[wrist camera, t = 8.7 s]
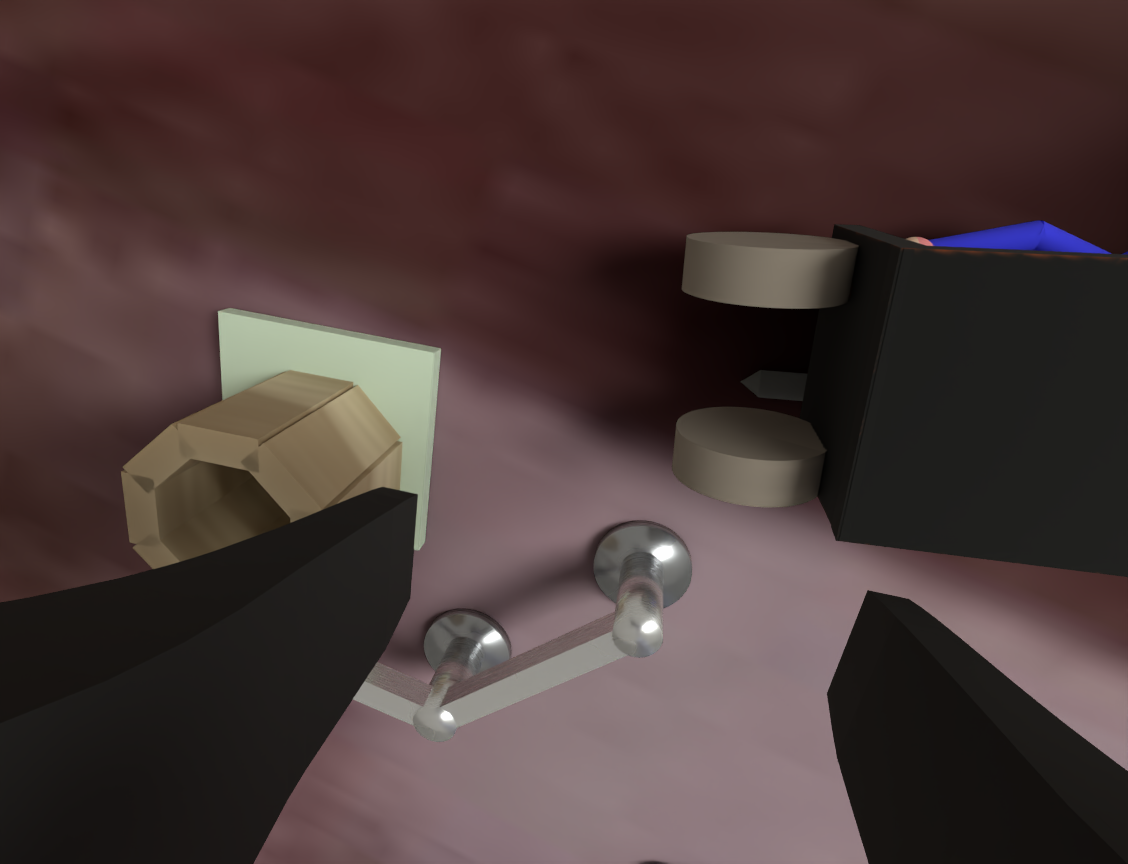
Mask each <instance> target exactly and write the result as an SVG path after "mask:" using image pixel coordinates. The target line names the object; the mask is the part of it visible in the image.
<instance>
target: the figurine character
mask: <svg viewBox="0 0 1128 864" xmlns="http://www.w3.org/2000/svg"><path fill="white" fill-rule="evenodd" d="M682 290H683V291H684V292H685V293H687V294H689V295H692V296H695V297H698V298H702V299H706V300H711V301H716V302H722V303H728V304H735V305H744V306H753V307H766V308H786V309H812V308H819V313H818V318H817V324H816V330H815V335H814V341H813V346H812V352H811V357H810V363H809V369H808V374H805V373H792V372H779V371H766V370H760V371H758V372H756V373H754V374H753V375H751V376H749V377H748V378H746V379H744V380H742V381H741V383H742V384H744V385H745V386H746V387H747V388H748V389H750V390H751V391H752V392H753V393H754V394H755V395H757V396H758V397H761V398H772V399H784V400H796V401H803V402H802V408H801V413H800V418H797V417H794V416H790V415H787V414H783V413H779V412H774V411H769V410H763V409H756V408H747V407H711V408H703V409H698V410H694V411H691V412H688V413H686V414H684V415H683V416H681V417H680V418H679V419H678V420H677V423H676V432H675V442H674V452H673V462H672V470H673V473H674V475H675V476H676V478H677V479H678V480H679V481H680V482H681V483H683V484H684V485H685V486H687V487H689V488H690V489H692V490H694V491H696V492H698V493H700V494H703V495H705V496H708V497H711V498H714V499H717V500H720V501H724V502H728V503H733V504H738V505H744V506H753V507H787V506H794V505H799V504H803V503H806V502H808V501H811V500H813V499H814V498H816V497H817V496H818V498H819V500H820V502H821V504H822V506H823V508H824V510H825V513H826V515H827V517H828V519H829V521H830V523H831V527H832V530H833V533H834V536H835V539H836V541H844V542H852V543H860V544H868V545H876V546H884V547H892V548H900V549H908V550H916V551H924V552H932V553H940V554H948V555H956V556H964V557H972V558H980V559H988V560H996V561H1004V562H1012V563H1020V564H1028V565H1036V566H1044V567H1052V568H1060V569H1068V570H1076V571H1084V572H1092V573H1100V574H1109V575H1117V576H1125V577H1128V252H1125V253H1123V254H1111V253H1109V252H1107V251H1105V250H1103V249H1101V248H1099V247H1097V246H1095V245H1093V244H1090V243H1088V242H1086V241H1084V240H1082V239H1080V238H1078V237H1076V236H1074V235H1072V234H1069V233H1067V232H1065V231H1063V230H1061V229H1059V228H1057V227H1055V226H1053V225H1051V224H1048V223H1046V222H1044V221H1040V220H1037V221H1032V222H1026V223H1020V224H1015V225H1009V226H1004V227H998V228H993V229H987V230H982V231H976V232H971V233H965V234H960V235H954V236H948V237H943V238H937V239H932V240H927V239H925V238H922V237H910V238H907V239H903V238H900V237H897V236H893V235H890V234H887V233H884V232H880V231H877V230H874V229H870V228H867V227H864V226H860V225H836V224H834V229H833V235H832V238H827V237H818V236H808V235H796V234H781V233H762V232H704V233H694V234H689V235H687V238H686V249H685V259H684V270H683V281H682Z"/></svg>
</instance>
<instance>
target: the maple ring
mask: <svg viewBox="0 0 1128 864" xmlns="http://www.w3.org/2000/svg"><path fill="white" fill-rule="evenodd" d="M400 438H401V437H400V436H399V434H398V433H397V432H396V431H395V429H394V428H393V427H392V426H391V425H390V423H389V422H388V421H387V420H386V418H385V417H384V416H383V415H382V414H381V412H380V411H379V410H378V409H377V408H376V406H375V405H374V404H373V403H372V401H371V400H370V399H369V398H368V397H367V395H366V394H365V393H364V392H363V390H362V389H361V388H360V387H359V386H358V385H357V386H355V387H354V388H353V382H351V381H345V380H340V379H335V378H330V377H325V376H319V375H314V374H309V373H304V372H298V371H293V370H289V371H287V372H286V371H285V372H282V373H280V374H278V375H276V376H274V377H272V378H270V379H267V380H265V381H263V382H261V383H259V384H257V385H254V386H252V387H250V388H248V389H246V390H244V391H242V392H239V393H237V394H235V395H233V396H231V397H229V398H227V399H224V400H222V401H220V402H218V403H216V404H214V405H211V406H209V407H207V408H205V409H203V410H201V411H199V412H196V413H194V414H192V415H190V416H188V417H186V418H184V419H181V420H179V421H177V422H175V423H173V424H171V425H170V426H169V427H168V428H167V429H165V430H164V431H163V432H162V433H161V434H160V435H159V436H157V437H156V438H155V439H154V440H153V441H152V442H151V443H149V444H148V445H147V446H146V447H145V448H144V449H143V450H141V451H140V452H139V453H138V454H137V455H136V456H135V457H133V458H132V459H131V460H130V461H129V462H128V463H127V464H125V465H124V466H123V468H124V469H125V470H124V471H122V472H121V477H122V485H123V493H124V501H125V509H126V517H127V525H128V533H129V541H130V543H135V544H136V545H135V546H134V547H133V549H134V550H135V551H136V552H137V553H138V554H139V555H140V556H141V557H142V558H143V559H144V560H145V561H146V562H147V563H148V564H149V565H150V566H151V567H152V568H153V569H156V568H160V567H163V566H167V565H171V564H174V563H178V562H181V561H184V560H187V559H191V558H194V557H197V556H200V555H203V554H207V553H210V552H213V551H216V550H218V549H221V548H224V547H227V546H229V545H232V544H235V543H238V542H240V541H243V540H246V539H249V538H251V537H254V536H257V535H260V534H262V533H265V532H268V531H271V530H274V529H276V528H279V527H281V526H284V525H286V524H289V523H291V522H294V521H296V520H299V519H301V518H304V517H306V516H308V515H311V514H313V513H316V512H318V511H321V510H323V509H326V508H328V507H330V506H333V505H335V504H338V503H340V502H342V501H345V500H347V499H350V498H352V497H355V496H357V495H360V494H362V493H365V492H368V491H370V490H373V489H377V488H380V487H387V488H391V489H396V490H400V481H401V463H402V444H403V442H400V441H398V440H399V439H400Z"/></svg>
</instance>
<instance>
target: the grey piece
mask: <svg viewBox="0 0 1128 864" xmlns="http://www.w3.org/2000/svg"><path fill="white" fill-rule="evenodd" d="M594 575H595V578H596V581H597V583H598V585H599V587H600V589H601V590H602V591H603V593H604V594H605V595H606V596H607V597H608V598H609V599H611V600H612V601H613V602H615V603H616V608H615V612H613V613H611V614H608V615H606V616H604V617H602V618H600V619H597V620H595V621H593V622H591V623H588V624H586V625H584V626H582V627H580V628H577V629H575V630H573V631H571V632H569V633H566V634H564V635H562V636H560V637H558V638H555V639H553V640H551V641H549V642H547V643H544V644H542V645H540V646H538V647H535V648H533V649H531V650H529V651H527V652H524V653H522V654H520V655H518V656H516V657H513V658H511V651H512V650H511V643H510V640H509V638H508V635H507V634H506V632H505V631H504V629H503V628H502V627H501V626H500V625H499V624H498V623H497V622H496V621H495V620H494V619H492V618H491V617H489V616H487V615H485V614H483V613H481V612H478V611H474V610H469V609H456V610H451V611H448V612H445V613H443V614H441V615H440V616H438V617H437V618H436V619H435V620H434V622H433V623H432V625H431V626H430V628H429V630H428V632H427V634H426V636H425V640H424V651H425V655H426V658H427V660H428V662H429V664H430V665H431V667H432V668H433V669H434V670H435V674H434V676H433V678H432V680H431V682H430V684H427V683H424V682H422V681H420V680H417V679H415V678H413V677H410V676H408V675H406V674H404V673H401V672H399V671H397V670H394V669H392V668H390V667H387V666H385V665H383V664H380V663H378V662H377V663H376V664H375V666H374V668H373V669H372V671H371V672H370V674H369V675H368V677H367V678H366V680H365V681H364V683H363V684H362V686H361V687H360V689H359V690H358V692H357V693H356V695H355V696H354V698H353V700H356V701H358V702H360V703H363V704H365V705H367V706H370V707H372V708H374V709H377V710H379V711H381V712H383V713H386V714H388V715H390V716H393V717H395V718H397V719H400V720H402V721H404V722H406V723H409V724H411V725H413V726H414V727H415V729H416V731H417V732H418V733H419V734H420V735H421V736H423V737H424V738H426V739H428V740H431V741H435V742H444V741H447V740H449V739H451V738H452V737H453V735H454V734H455V731H456V729H457V728H458V727H460V726H462V725H465V724H467V723H469V722H472V721H474V720H476V719H479V718H481V717H483V716H486V715H488V714H491V713H493V712H495V711H498V710H500V709H502V708H505V707H507V706H509V705H512V704H514V703H516V702H519V701H521V700H524V699H526V698H528V697H531V696H533V695H535V694H538V693H540V692H542V691H545V690H547V689H549V688H552V687H554V686H556V685H559V684H561V683H564V682H566V681H568V680H571V679H573V678H575V677H578V676H580V675H582V674H585V673H587V672H589V671H592V670H594V669H597V668H599V667H601V666H604V665H606V664H608V663H611V662H613V661H615V660H618V659H620V658H622V657H625V656H627V655H629V656H632V657H639V658H640V657H647V656H650V655H652V654H654V653H655V652H657V651H658V650H659V648H660V647H661V644H662V641H663V608H665V607H668V606H670V605H672V604H673V603H675V602H676V601H677V600H679V599H680V598H681V597H682V596H683V594H684V593H685V592H686V590H687V588H688V587H689V584H690V581H691V576H692V563H691V556H690V553H689V550H688V548H687V546H686V545H685V543H684V541H683V540H682V539H681V538H680V537H679V536H678V535H677V534H676V533H675V532H673V531H672V530H671V529H669V528H667V527H665V526H663V525H660V524H658V523H654V522H649V521H632V522H627V523H624V524H621V525H619V526H617V527H615V528H613V529H612V530H610V531H609V532H608V533H607V534H606V535H605V536H604V537H603V538H602V540H601V541H600V543H599V545H598V547H597V550H596V554H595V558H594ZM510 658H511V659H510Z"/></svg>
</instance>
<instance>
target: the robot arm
mask: <svg viewBox="0 0 1128 864" xmlns="http://www.w3.org/2000/svg"><path fill="white" fill-rule="evenodd" d="M417 500H418V494H415V493H410V492H405V491H401V490H396V489H391V488H387V487H380V488H377V489H373V490H370V491H368V492H365V493H362V494H360V495H357V496H355V497H352V498H350V499H347V500H345V501H342V502H340V503H338V504H335V505H333V506H330V507H328V508H326V509H323V510H321V511H318V512H316V513H313V514H311V515H308V516H306V517H304V518H301V519H299V520H296V521H294V522H291V523H289V524H286V525H284V526H281V527H279V528H276V529H274V530H271V531H268V532H265V533H262V534H260V535H257V536H254V537H251V538H249V539H246V540H243V541H240V542H238V543H235V544H232V545H229V546H227V547H224V548H221V549H218V550H216V551H213V552H210V553H207V554H203V555H200V556H197V557H194V558H191V559H187V560H184V561H181V562H178V563H174V564H171V565H167V566H163V567H160V568H156V569H152V570H149V571H145V572H141V573H138V574H134V575H130V576H126V577H122V578H118V579H114V580H109V581H105V582H100V583H95V584H91V585H86V586H81V587H77V588H72V589H67V590H63V591H58V592H53V593H49V594H44V595H39V596H34V597H30V598H24V599H19V600H13V601H7V602H1V603H0V864H253V863H254V861H255V860H256V858H257V856H258V854H259V852H260V850H261V848H262V846H263V845H264V843H265V841H266V839H267V837H268V835H269V833H270V832H271V830H272V828H273V826H274V824H275V822H276V820H277V818H278V817H279V815H280V813H281V811H282V809H283V807H284V805H285V804H286V802H287V800H288V798H289V796H290V795H291V793H292V792H293V790H294V788H295V787H296V785H297V783H298V782H299V780H300V778H301V777H302V775H303V773H304V772H305V770H306V769H307V767H308V766H309V764H310V763H311V761H312V760H313V758H314V757H315V755H316V754H317V752H318V751H319V749H320V748H321V746H322V745H323V743H324V742H325V740H326V738H327V737H328V735H329V734H330V732H331V731H332V729H333V728H334V726H335V725H336V723H337V722H338V720H339V719H340V717H341V716H342V714H343V713H344V711H345V710H346V708H347V707H348V705H349V704H350V702H351V701H352V699H353V698H354V696H355V695H356V693H357V692H358V690H359V689H360V687H361V686H362V684H363V683H364V681H365V680H366V678H367V677H368V675H369V674H370V672H371V671H372V669H373V668H374V666H375V664H376V663H377V661H378V660H379V658H380V657H381V655H382V654H383V652H384V650H385V649H386V647H387V645H388V643H389V641H390V639H391V637H392V635H393V633H394V631H395V629H396V627H397V625H398V623H399V620H400V618H401V616H402V614H403V612H404V610H405V608H406V606H407V603H408V601H409V599H410V593H411V580H412V567H413V553H414V540H415V527H416V514H417ZM827 696H828V703H829V711H830V718H831V725H832V731H833V737H834V742H835V748H836V754H837V759H838V762H839V766H840V769H841V773H842V776H843V780H844V783H845V786H846V790H847V793H848V797H849V800H850V803H851V807H852V810H853V813H854V817H855V820H856V823H857V826H858V830H859V833H860V836H861V840H862V843H863V846H864V849H865V853H866V856H867V859H868V863H869V864H1128V771H1127V770H1125V769H1124V768H1123V767H1121V766H1120V765H1119V764H1117V763H1116V762H1115V761H1113V760H1112V759H1111V758H1109V757H1108V756H1107V755H1105V754H1104V753H1103V752H1101V751H1100V750H1099V749H1098V748H1096V747H1095V746H1094V745H1092V744H1091V743H1090V742H1088V741H1087V740H1086V739H1084V738H1083V737H1082V736H1080V735H1079V734H1078V733H1076V732H1075V731H1074V730H1073V729H1071V728H1070V727H1069V726H1067V725H1066V724H1065V723H1063V722H1062V721H1061V720H1060V719H1058V718H1057V717H1056V716H1055V715H1053V714H1052V713H1051V712H1050V711H1048V710H1047V709H1046V708H1045V707H1043V706H1042V705H1041V704H1040V703H1038V702H1037V701H1036V700H1035V699H1033V698H1032V697H1031V696H1030V695H1028V694H1027V693H1026V692H1025V691H1023V690H1022V689H1021V688H1020V687H1019V686H1017V685H1016V684H1015V683H1014V682H1012V681H1011V680H1010V679H1009V678H1008V677H1006V676H1005V675H1004V674H1003V673H1002V672H1000V671H999V670H998V669H997V668H996V667H994V666H993V665H992V664H991V663H989V662H988V661H987V660H986V659H985V658H983V657H982V656H981V655H980V654H979V653H977V652H976V651H975V650H974V649H973V648H971V647H970V646H969V645H968V644H967V643H965V642H964V641H963V640H962V639H961V638H959V637H958V636H957V635H956V634H954V633H953V632H952V631H951V630H950V629H948V628H947V627H946V626H945V625H943V624H942V623H941V622H940V621H938V620H937V619H936V618H935V617H933V616H932V615H931V614H929V613H928V612H927V611H925V610H924V609H923V608H921V607H920V606H918V605H917V604H915V603H914V602H912V601H911V600H909V599H906V598H901V597H897V596H892V595H887V594H883V593H878V592H873V591H869V590H868V591H867V593H866V596H865V598H864V601H863V603H862V606H861V609H860V611H859V614H858V616H857V619H856V621H855V624H854V626H853V629H852V631H851V634H850V636H849V639H848V641H847V644H846V647H845V649H844V652H843V654H842V657H841V659H840V662H839V664H838V667H837V669H836V672H835V674H834V677H833V679H832V682H831V685H830V687H829V690H828V692H827Z"/></svg>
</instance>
